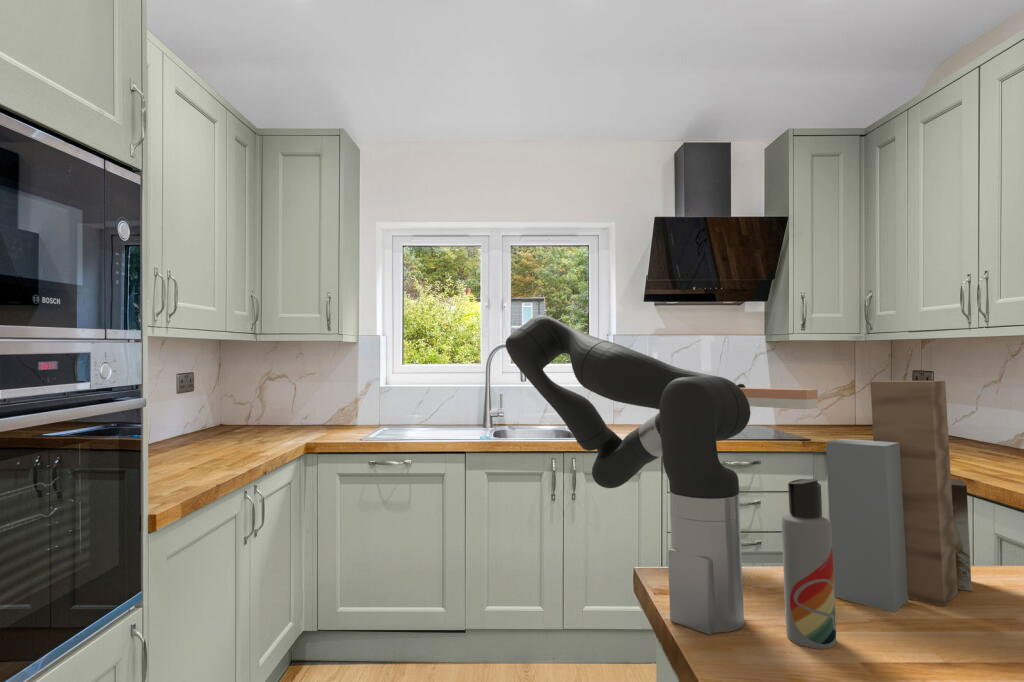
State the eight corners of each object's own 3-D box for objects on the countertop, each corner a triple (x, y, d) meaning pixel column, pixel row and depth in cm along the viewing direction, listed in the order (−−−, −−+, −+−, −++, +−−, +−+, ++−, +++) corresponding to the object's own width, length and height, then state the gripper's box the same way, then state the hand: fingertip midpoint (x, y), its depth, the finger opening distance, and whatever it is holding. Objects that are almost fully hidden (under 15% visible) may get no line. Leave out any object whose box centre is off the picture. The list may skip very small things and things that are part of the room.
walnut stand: (944, 606, 84) (931, 381, 86) (881, 591, 90) (870, 381, 92) (957, 594, 88) (945, 380, 90) (896, 580, 94) (886, 381, 96)
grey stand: (893, 612, 82) (885, 446, 83) (833, 596, 88) (825, 441, 90) (908, 601, 86) (899, 442, 87) (849, 586, 92) (841, 438, 93)
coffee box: (901, 581, 94) (895, 480, 95) (900, 570, 99) (895, 474, 100) (973, 592, 89) (967, 484, 90) (968, 579, 94) (962, 478, 95)
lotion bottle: (835, 654, 70) (827, 484, 71) (783, 643, 73) (776, 480, 74) (838, 635, 75) (830, 477, 76) (789, 626, 78) (782, 474, 79)
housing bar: (807, 409, 93) (806, 390, 93) (699, 403, 107) (699, 387, 107) (817, 408, 95) (817, 389, 96) (711, 403, 110) (711, 386, 110)
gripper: (637, 415, 112) (706, 370, 101) (680, 411, 121) (748, 369, 110) (654, 452, 109) (727, 409, 98) (697, 445, 118) (768, 405, 107)
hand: (738, 388), depth 104 cm, fingers closed on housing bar, 4 cm apart
